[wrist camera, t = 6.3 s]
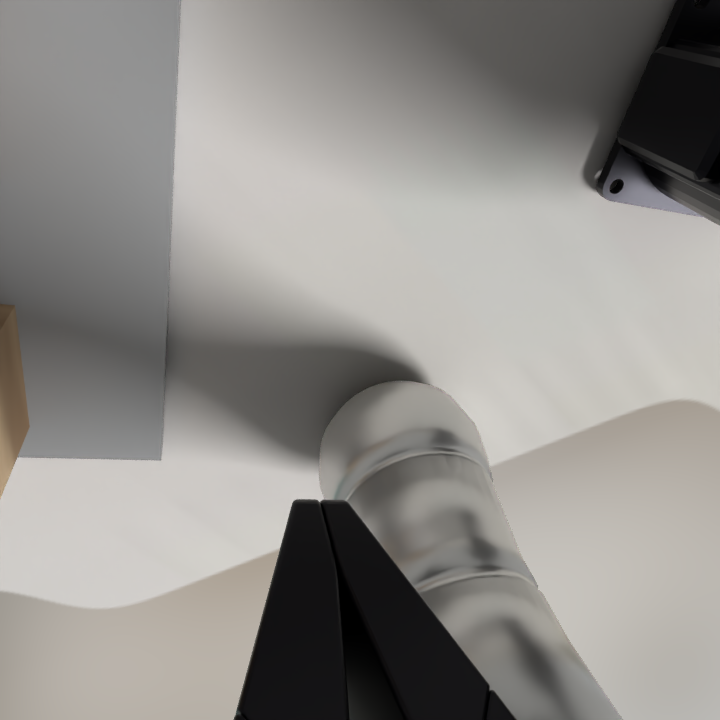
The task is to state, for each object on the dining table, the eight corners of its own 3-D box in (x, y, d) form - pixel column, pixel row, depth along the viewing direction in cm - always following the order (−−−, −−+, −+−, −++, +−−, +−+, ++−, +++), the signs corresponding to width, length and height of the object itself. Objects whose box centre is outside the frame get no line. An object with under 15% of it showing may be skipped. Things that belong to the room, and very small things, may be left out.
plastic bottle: (298, 477, 25) (423, 1380, 9) (328, 349, 22) (615, 1455, 6) (433, 480, 27) (732, 1242, 11) (481, 363, 24) (1023, 1232, 8)
